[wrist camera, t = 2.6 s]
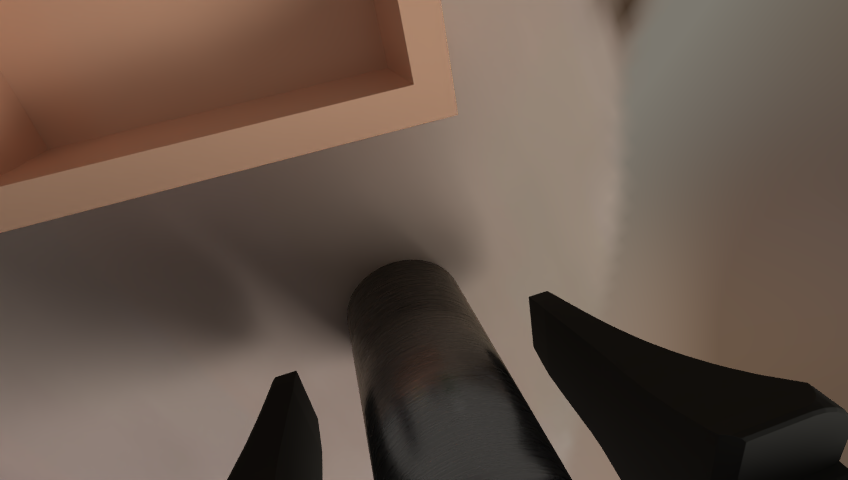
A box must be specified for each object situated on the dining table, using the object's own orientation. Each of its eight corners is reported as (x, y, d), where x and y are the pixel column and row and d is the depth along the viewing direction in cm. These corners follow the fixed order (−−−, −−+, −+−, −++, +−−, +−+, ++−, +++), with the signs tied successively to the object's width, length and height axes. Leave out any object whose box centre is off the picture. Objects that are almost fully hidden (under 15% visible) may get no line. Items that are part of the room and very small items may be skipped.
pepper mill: (468, 337, 17) (602, 592, 10) (364, 371, 17) (419, 667, 9) (451, 245, 15) (602, 475, 8) (332, 280, 15) (371, 562, 7)
